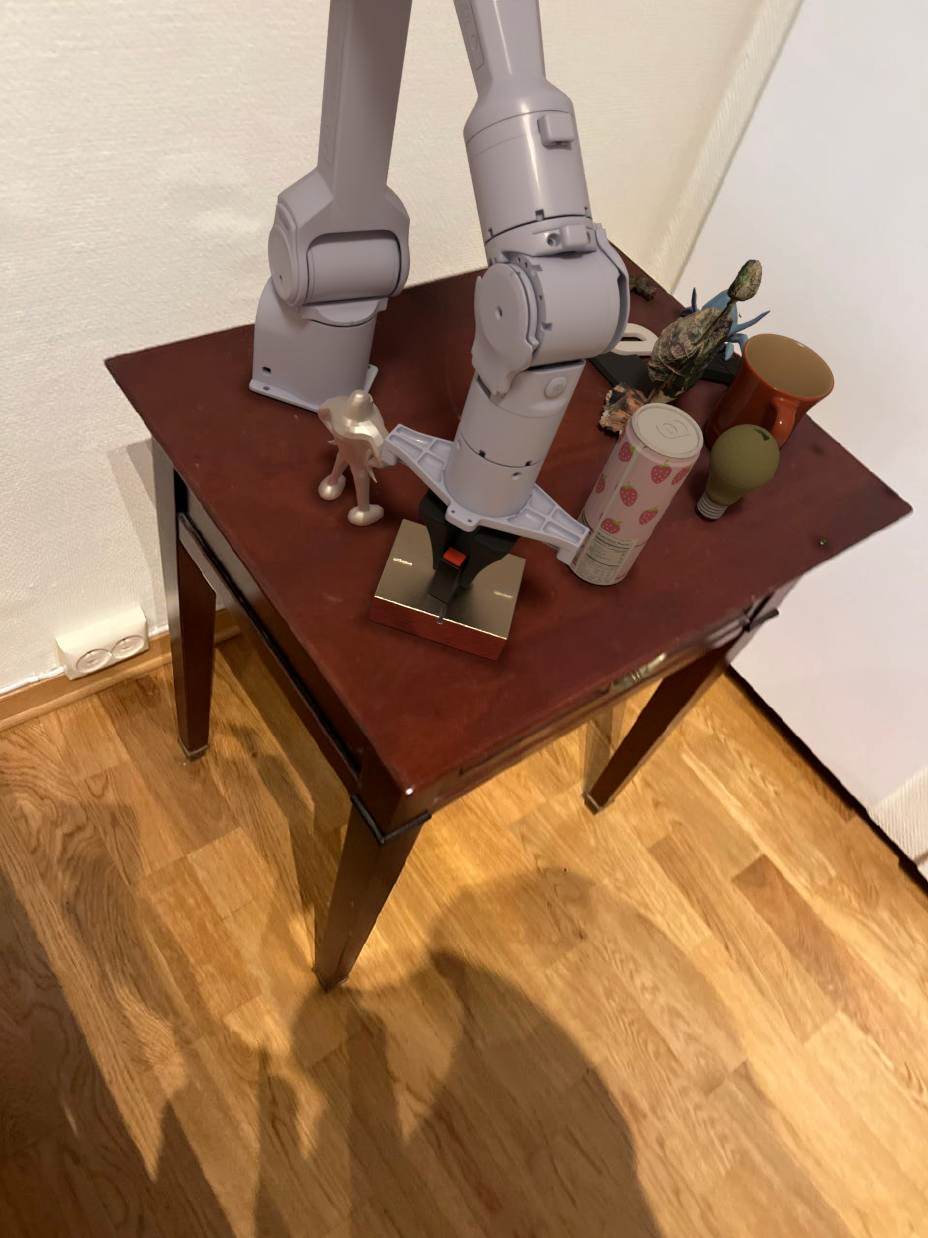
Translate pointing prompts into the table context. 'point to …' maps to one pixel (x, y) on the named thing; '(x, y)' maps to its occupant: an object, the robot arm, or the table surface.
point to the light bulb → (738, 467)
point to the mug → (771, 388)
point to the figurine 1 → (354, 450)
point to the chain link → (636, 346)
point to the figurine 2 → (723, 363)
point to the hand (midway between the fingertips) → (455, 570)
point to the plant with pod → (682, 352)
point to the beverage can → (635, 490)
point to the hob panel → (469, 615)
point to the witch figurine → (641, 285)
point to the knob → (452, 566)
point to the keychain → (625, 371)
